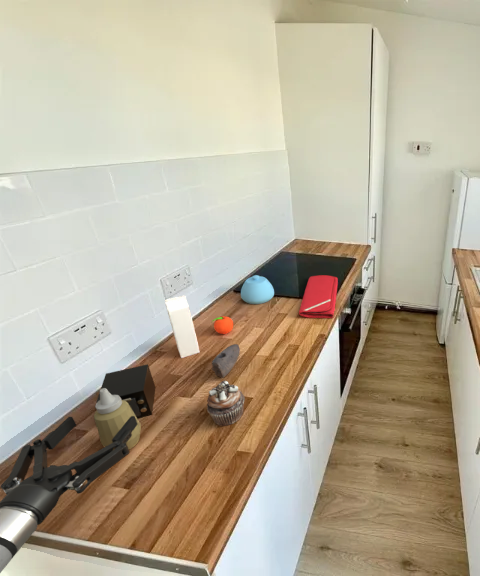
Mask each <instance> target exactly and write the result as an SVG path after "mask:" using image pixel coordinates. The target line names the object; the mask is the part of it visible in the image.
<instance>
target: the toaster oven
mask: <svg viewBox="0 0 480 576" xmlns="http://www.w3.org/2000/svg"><path fill="white" fill-rule="evenodd" d="M102 388H106V389H107V390H108V391H109V392H110V394H111V395H119V396H120V398H121V400H125V401H126V402H127V403H128V404H129V406H130V407H131V409H132V411H133V412H134V414H135V416H136V417H137V419H138V420H139V419H141V418H145V417H148V416H152V415H153V410H154V403H155V395H156V388H157V387H156V385H155V381H154V378H153V374H152V372H151V369H150V366H149V364H143V365H139V366H134V367H133V366H132V367H129V368H125V369H120V370H116V371H115V370H114V371H112V372H106V373H105V375H104V378H103V381H102V384H101V387H100V390H101V389H102ZM99 400H100V392H99V393H98V396H97V399H96V402H95V404H96V403H97V402H98V401H99Z"/></svg>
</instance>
